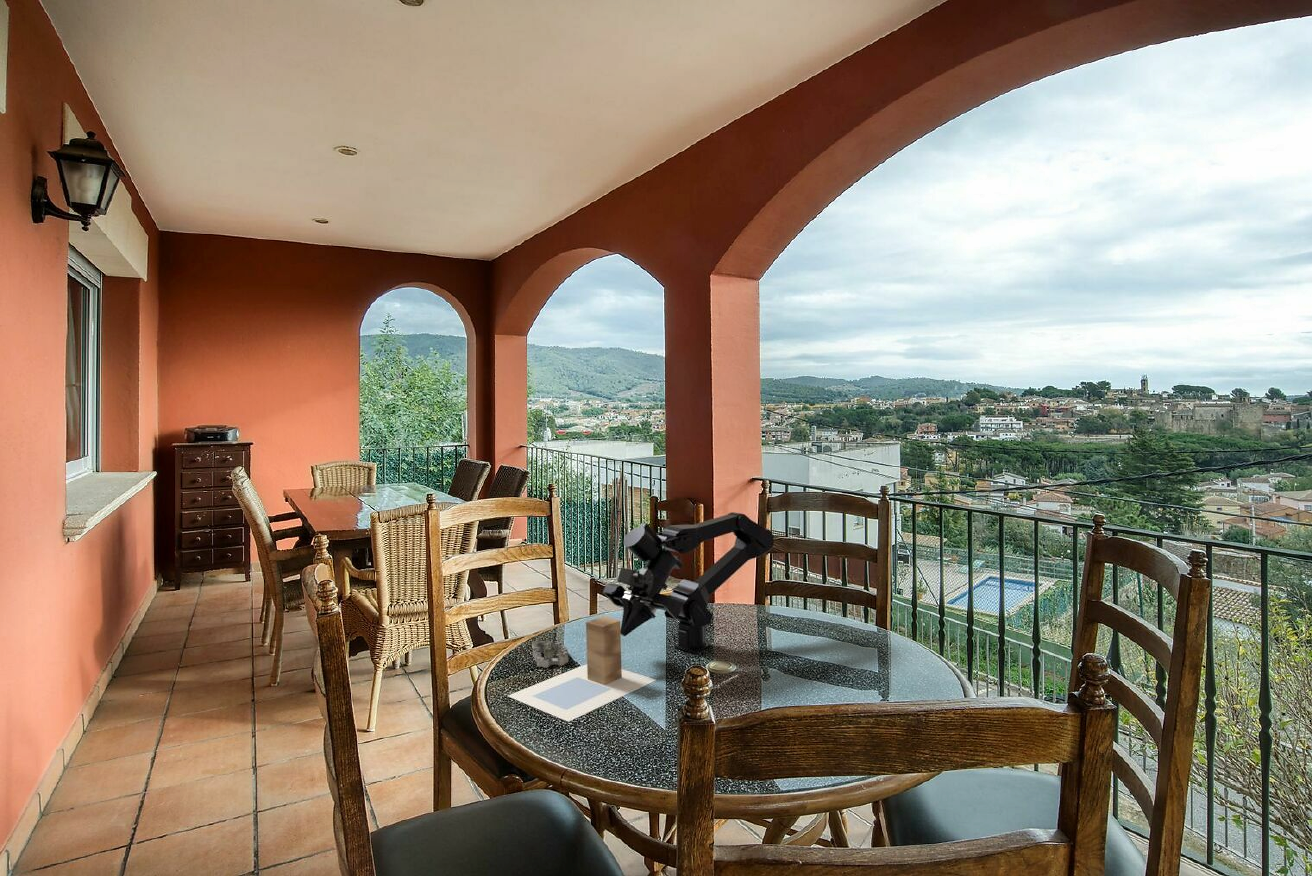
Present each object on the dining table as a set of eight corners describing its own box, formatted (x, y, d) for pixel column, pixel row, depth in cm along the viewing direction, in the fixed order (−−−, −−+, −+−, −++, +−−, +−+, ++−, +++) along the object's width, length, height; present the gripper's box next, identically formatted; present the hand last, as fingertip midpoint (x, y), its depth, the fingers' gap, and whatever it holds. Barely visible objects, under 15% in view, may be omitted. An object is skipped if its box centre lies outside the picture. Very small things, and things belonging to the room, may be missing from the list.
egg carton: (569, 668, 151) (569, 650, 151) (535, 672, 149) (534, 654, 149) (564, 652, 161) (563, 635, 161) (531, 655, 159) (531, 638, 159)
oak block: (604, 672, 146) (603, 616, 146) (621, 677, 143) (620, 620, 142) (587, 679, 142) (586, 622, 142) (604, 685, 139) (603, 626, 139)
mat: (595, 662, 153) (595, 660, 153) (656, 682, 141) (656, 680, 141) (507, 698, 135) (507, 695, 135) (568, 724, 123) (568, 721, 123)
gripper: (607, 548, 156) (572, 607, 148) (670, 558, 144) (635, 623, 136) (632, 575, 162) (599, 633, 154) (694, 587, 150) (662, 651, 142)
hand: (622, 635), depth 147 cm, fingers closed
